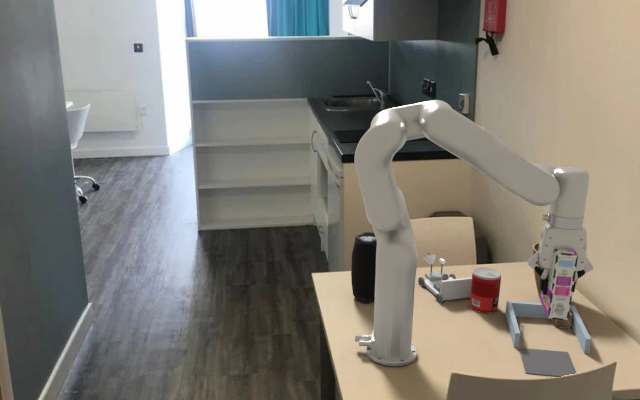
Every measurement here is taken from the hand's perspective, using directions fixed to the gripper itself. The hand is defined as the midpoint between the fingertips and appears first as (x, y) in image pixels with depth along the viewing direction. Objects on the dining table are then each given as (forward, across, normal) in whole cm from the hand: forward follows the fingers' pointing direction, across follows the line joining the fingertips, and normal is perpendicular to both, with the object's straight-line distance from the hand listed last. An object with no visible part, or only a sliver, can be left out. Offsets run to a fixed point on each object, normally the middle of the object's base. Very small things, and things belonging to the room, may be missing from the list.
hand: (556, 292), depth 155 cm
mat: (+19, 0, 0) cm, 19 cm away
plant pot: (+19, +8, +38) cm, 43 cm away
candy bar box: (+5, 0, 0) cm, 5 cm away
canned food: (+19, -13, +28) cm, 37 cm away
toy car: (+19, -24, +39) cm, 50 cm away
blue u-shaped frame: (+19, +2, +16) cm, 24 cm away
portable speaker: (+19, -47, +28) cm, 58 cm away
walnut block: (+19, +7, +22) cm, 30 cm away
